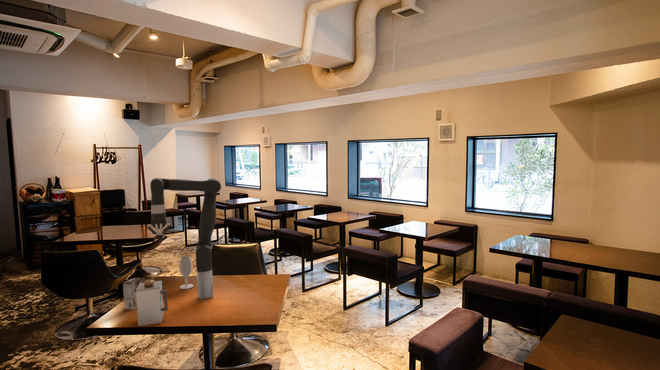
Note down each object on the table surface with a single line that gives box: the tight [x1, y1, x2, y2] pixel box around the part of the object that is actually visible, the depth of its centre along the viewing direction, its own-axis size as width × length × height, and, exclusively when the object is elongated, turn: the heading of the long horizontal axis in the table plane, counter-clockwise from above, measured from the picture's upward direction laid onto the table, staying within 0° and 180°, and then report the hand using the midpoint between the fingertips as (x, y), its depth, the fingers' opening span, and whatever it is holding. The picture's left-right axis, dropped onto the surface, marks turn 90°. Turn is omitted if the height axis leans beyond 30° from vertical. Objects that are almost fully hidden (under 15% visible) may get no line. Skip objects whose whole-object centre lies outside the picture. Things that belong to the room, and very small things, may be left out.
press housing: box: [136, 280, 169, 327], centre depth 193 cm, size 14×11×20 cm
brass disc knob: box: [143, 278, 155, 286], centre depth 192 cm, size 8×8×20 cm
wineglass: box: [178, 255, 194, 290], centre depth 241 cm, size 9×9×21 cm
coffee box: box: [122, 277, 144, 310], centre depth 211 cm, size 9×6×16 cm
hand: (159, 240), depth 210 cm, fingers closed
